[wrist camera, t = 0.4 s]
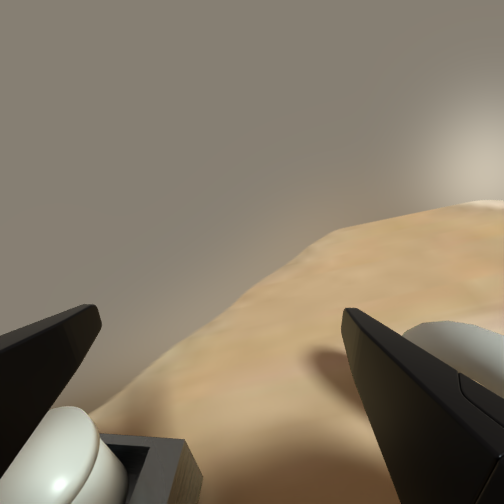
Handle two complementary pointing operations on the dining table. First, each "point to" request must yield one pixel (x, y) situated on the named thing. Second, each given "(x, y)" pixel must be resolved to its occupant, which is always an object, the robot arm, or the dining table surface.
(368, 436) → the dining table surface
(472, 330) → the donut
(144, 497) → the press block
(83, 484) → the plunger
